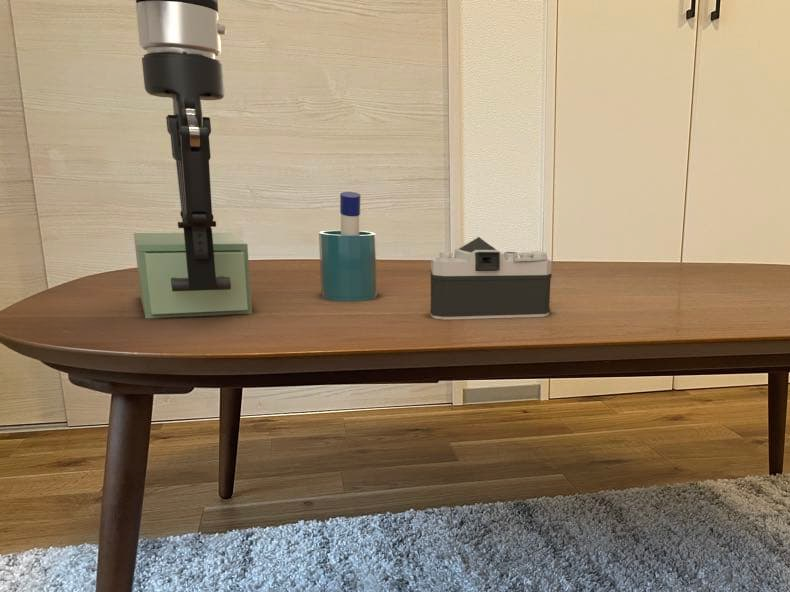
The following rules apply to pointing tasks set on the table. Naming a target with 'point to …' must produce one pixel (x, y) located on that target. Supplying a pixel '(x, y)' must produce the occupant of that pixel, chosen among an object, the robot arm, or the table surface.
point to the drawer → (176, 297)
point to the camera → (489, 283)
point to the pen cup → (348, 266)
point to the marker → (350, 213)
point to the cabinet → (177, 243)
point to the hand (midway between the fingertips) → (202, 288)
